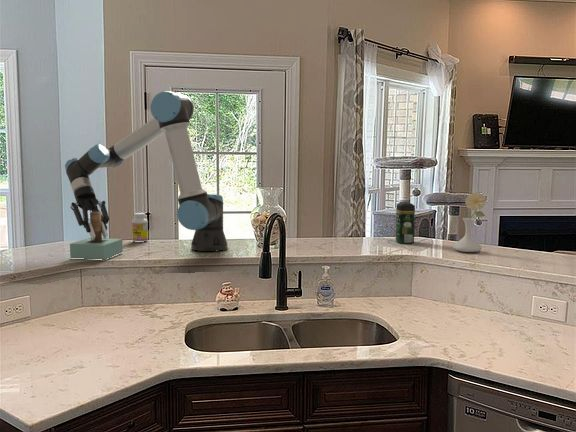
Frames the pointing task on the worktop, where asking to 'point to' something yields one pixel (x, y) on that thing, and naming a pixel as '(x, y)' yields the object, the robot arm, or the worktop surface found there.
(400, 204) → the coffee jar
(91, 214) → the dowel
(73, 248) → the socket block
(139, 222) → the supplement bottle
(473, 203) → the flower in vase
